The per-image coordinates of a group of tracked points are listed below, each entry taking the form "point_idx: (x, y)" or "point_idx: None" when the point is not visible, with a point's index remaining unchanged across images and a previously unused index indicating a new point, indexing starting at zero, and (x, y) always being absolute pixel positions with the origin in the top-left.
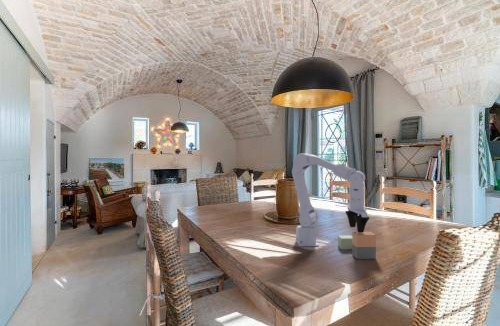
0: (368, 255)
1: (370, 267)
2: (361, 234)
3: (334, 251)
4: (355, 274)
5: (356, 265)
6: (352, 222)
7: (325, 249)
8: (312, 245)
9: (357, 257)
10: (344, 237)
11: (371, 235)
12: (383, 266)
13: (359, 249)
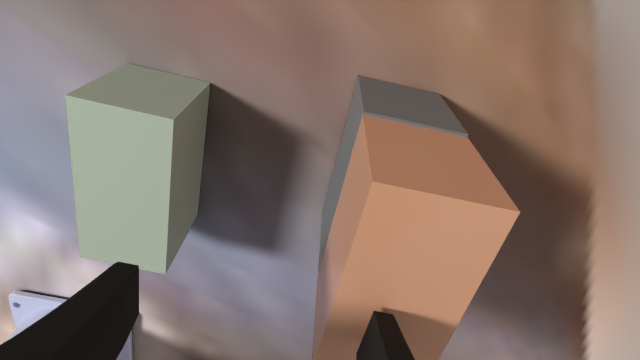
0: None
1: (523, 223)
2: (422, 346)
3: (228, 271)
4: (539, 335)
5: None
6: (99, 355)
7: (186, 299)
8: (129, 345)
9: None
10: (138, 236)
11: (489, 257)
12: (561, 134)
13: None
